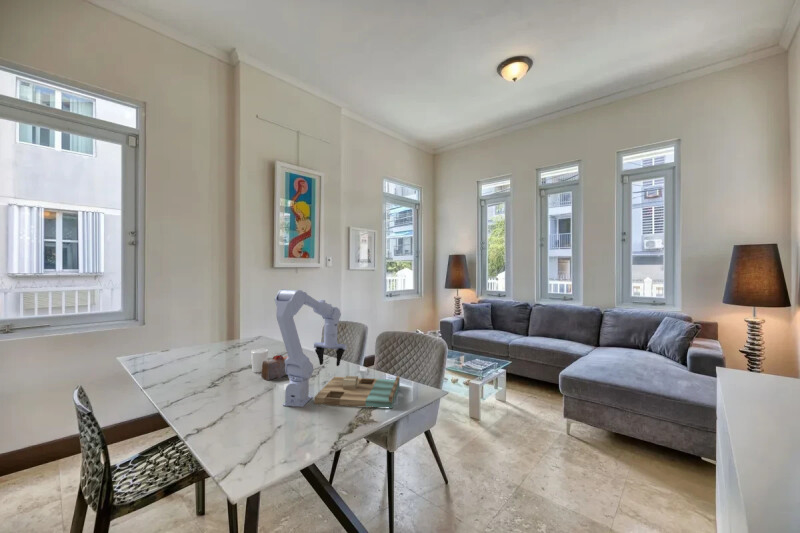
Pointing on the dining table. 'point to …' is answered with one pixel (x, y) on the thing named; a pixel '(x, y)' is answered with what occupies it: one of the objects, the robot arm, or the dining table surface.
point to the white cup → (258, 359)
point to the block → (350, 383)
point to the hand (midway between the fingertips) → (329, 364)
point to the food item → (274, 368)
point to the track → (360, 393)
